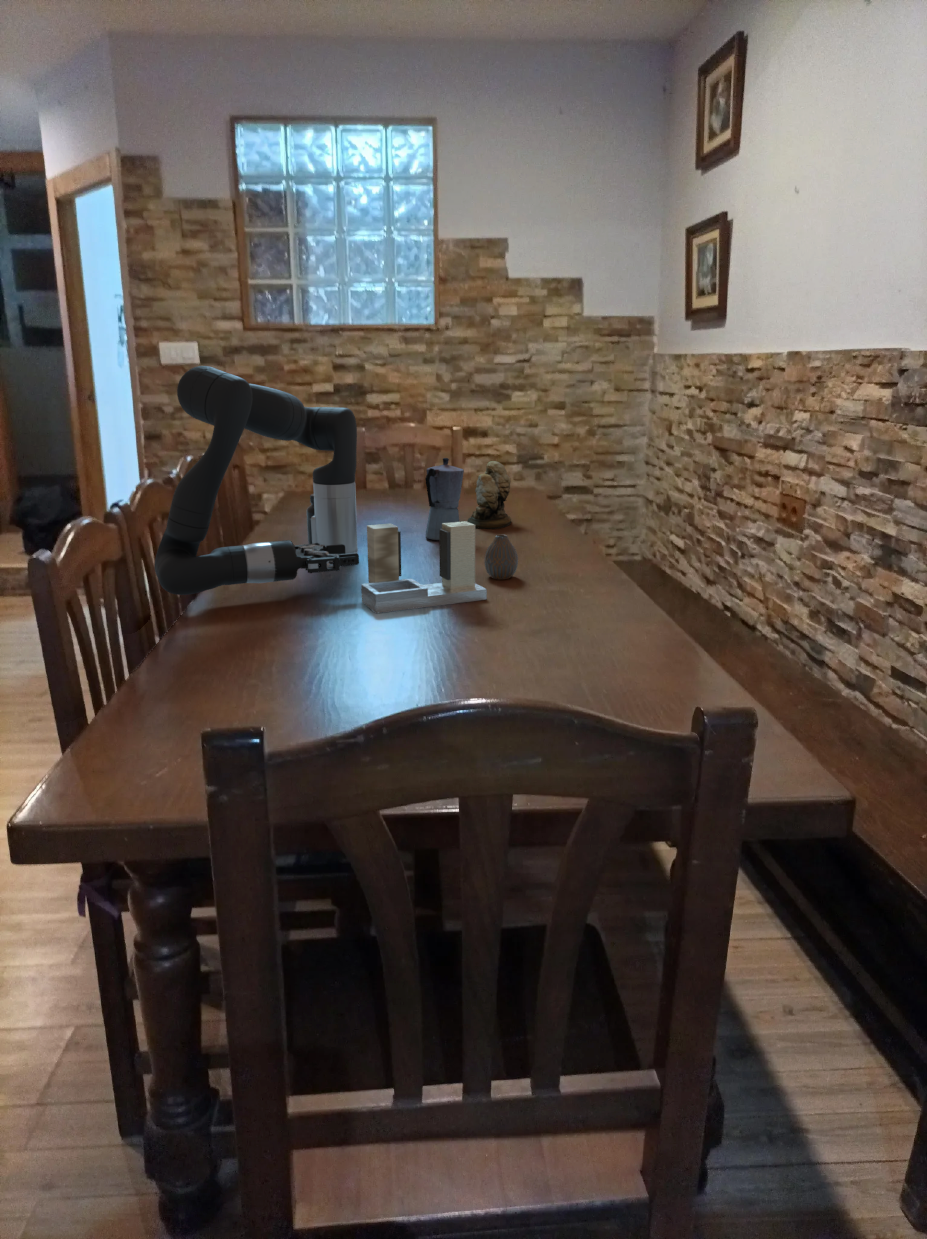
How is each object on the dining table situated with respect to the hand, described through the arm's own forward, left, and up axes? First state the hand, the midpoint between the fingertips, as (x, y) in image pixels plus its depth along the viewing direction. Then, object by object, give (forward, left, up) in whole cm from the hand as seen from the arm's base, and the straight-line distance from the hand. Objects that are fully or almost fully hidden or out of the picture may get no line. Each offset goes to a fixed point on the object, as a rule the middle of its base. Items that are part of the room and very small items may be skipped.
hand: (351, 554), depth 168 cm
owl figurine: (-3, +76, -7) cm, 77 cm away
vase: (+23, +21, -7) cm, 32 cm away
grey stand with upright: (+17, -2, -7) cm, 18 cm away
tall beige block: (+4, +5, -7) cm, 10 cm away
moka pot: (-5, +51, -7) cm, 52 cm away
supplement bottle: (-29, +33, -7) cm, 45 cm away
